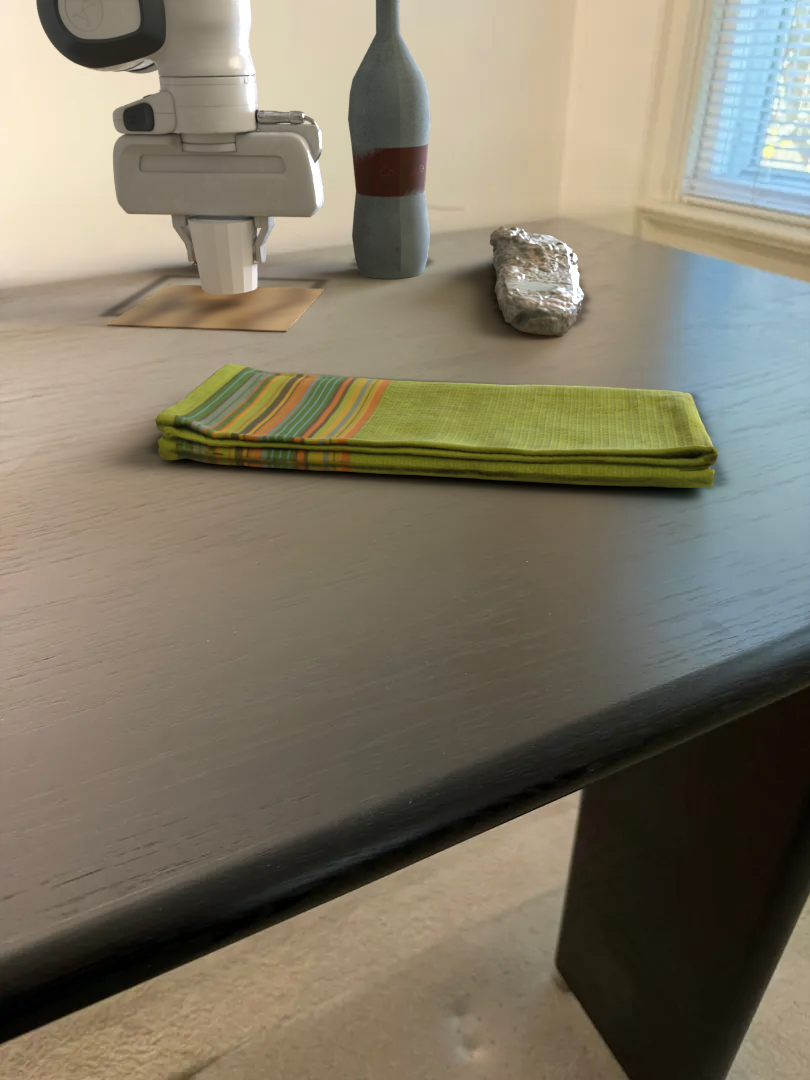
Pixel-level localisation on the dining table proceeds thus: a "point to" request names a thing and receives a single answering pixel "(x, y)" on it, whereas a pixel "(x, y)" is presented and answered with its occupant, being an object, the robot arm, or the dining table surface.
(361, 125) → the bottle
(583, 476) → the dish towel
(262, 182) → the robot arm
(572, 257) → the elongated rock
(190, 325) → the cork mat
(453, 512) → the dining table surface
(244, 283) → the white cup
